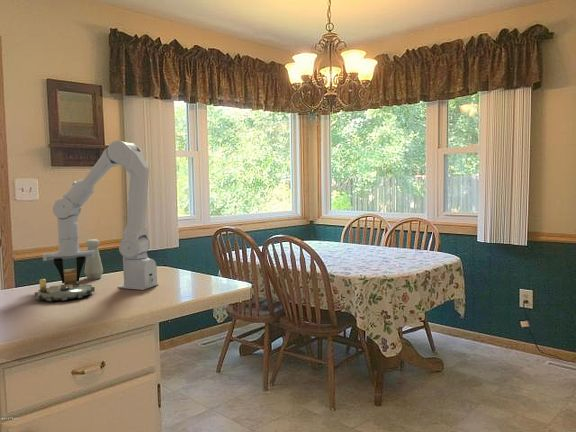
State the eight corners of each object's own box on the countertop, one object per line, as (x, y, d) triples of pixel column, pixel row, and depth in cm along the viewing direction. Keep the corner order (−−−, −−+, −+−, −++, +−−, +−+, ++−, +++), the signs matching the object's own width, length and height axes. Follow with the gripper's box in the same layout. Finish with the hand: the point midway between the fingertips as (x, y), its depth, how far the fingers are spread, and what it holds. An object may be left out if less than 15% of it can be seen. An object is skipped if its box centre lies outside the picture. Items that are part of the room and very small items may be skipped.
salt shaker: (96, 280, 160) (94, 240, 159) (81, 279, 161) (79, 240, 160) (106, 276, 166) (105, 238, 165) (91, 276, 167) (89, 238, 166)
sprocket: (95, 296, 134) (94, 280, 134) (32, 303, 128) (31, 285, 128) (93, 285, 148) (93, 270, 148) (37, 291, 142) (36, 275, 142)
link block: (77, 287, 150) (76, 271, 150) (64, 288, 149) (63, 272, 148) (77, 284, 155) (76, 268, 154) (64, 285, 153) (63, 269, 153)
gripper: (93, 235, 157) (95, 277, 158) (42, 238, 151) (45, 281, 152) (94, 237, 151) (96, 281, 152) (41, 240, 145) (44, 286, 146)
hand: (70, 281), depth 152 cm, fingers closed on link block, 3 cm apart
